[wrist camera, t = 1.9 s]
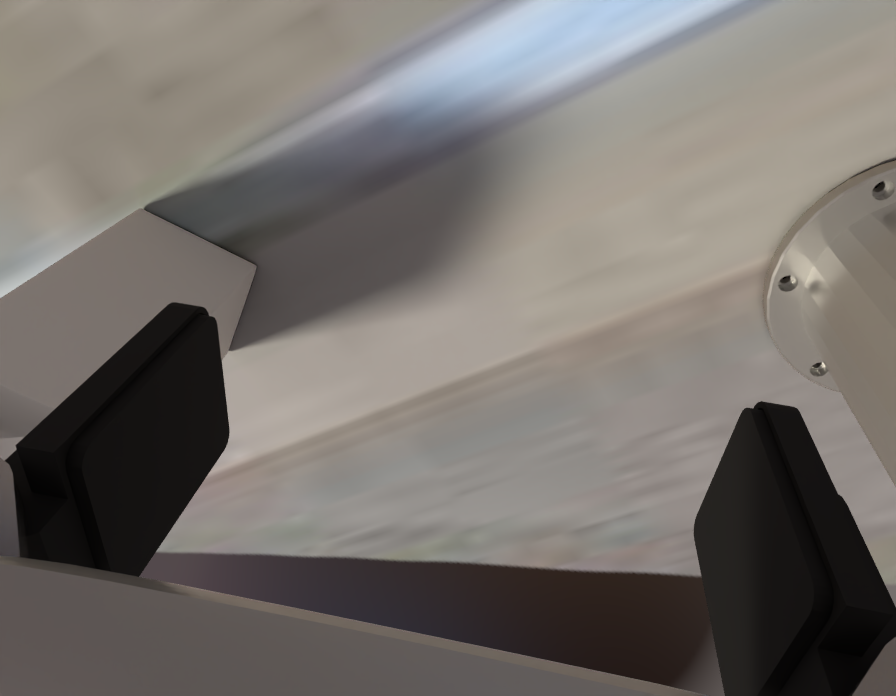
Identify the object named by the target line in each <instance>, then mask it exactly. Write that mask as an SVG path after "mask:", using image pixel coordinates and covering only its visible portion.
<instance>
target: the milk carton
mask: <svg viewBox="0 0 896 696" xmlns="http://www.w3.org/2000/svg"><path fill="white" fill-rule="evenodd" d="M256 268H257V266H256V265H254V264H252V263H250V262H248V261H246V260H244V259H242V258H240V257H238V256H236V255H234V254H232V253H230V252H228V251H226V250H224V249H222V248H220V247H218V246H216V245H214V244H212V243H210V242H208V241H206V240H204V239H202V238H200V237H198V236H196V235H194V234H192V233H190V232H188V231H186V230H184V229H182V228H180V227H178V226H176V225H174V224H172V223H170V222H168V221H166V220H163V219H161V218H159V217H157V216H155V215H153V214H151V213H149V212H147V211H145V210H143V209H138V210H136V211H135V212H133V213H132V214H130V215H129V216H127V217H125V218H124V219H122V220H121V221H119V222H118V223H116V224H115V225H113V226H112V227H110V228H108V229H107V230H105V231H104V232H102V233H101V234H99V235H98V236H96V237H95V238H93V239H91V240H90V241H88V242H87V243H85V244H84V245H82V246H81V247H79V248H78V249H76V250H74V251H73V252H71V253H70V254H68V255H67V256H65V257H64V258H62V259H61V260H59V261H57V262H56V263H54V264H53V265H51V266H50V267H48V268H47V269H45V270H44V271H42V272H40V273H39V274H37V275H36V276H34V277H33V278H31V279H30V280H28V281H27V282H25V283H23V284H22V285H20V286H19V287H17V288H16V289H14V290H13V291H11V292H10V293H8V294H6V295H5V296H3V297H2V298H0V458H1V459H3V460H4V461H5V460H6V459H7V458H8V457H9V456H10V455H11V454H12V453H13V452H14V451H16V450H17V449H16V446H15V445H16V444H17V443H19V442H20V441H21V440H22V439H23V438H24V437H25V436H26V435H27V434H28V433H29V432H30V431H32V430H33V429H34V428H35V427H36V426H37V425H38V424H39V423H40V422H41V421H42V420H43V419H45V418H46V417H47V416H48V415H49V414H50V413H51V412H52V411H53V410H54V409H55V408H56V407H58V406H59V405H60V404H61V403H62V402H63V401H64V400H65V399H66V398H67V397H68V396H69V395H71V394H72V393H73V392H74V391H75V390H76V389H77V388H78V387H79V386H80V385H81V384H82V383H84V382H85V381H86V380H87V379H88V378H89V377H90V376H91V375H92V374H93V373H94V372H95V371H97V370H98V369H99V368H100V367H101V366H102V365H103V364H104V363H105V362H106V361H107V360H108V359H110V358H111V357H112V356H113V355H114V354H115V353H116V352H117V351H118V350H119V349H120V348H121V347H123V346H124V345H125V344H126V343H127V342H128V341H129V340H130V339H131V338H132V337H133V336H134V335H136V334H137V333H138V332H139V331H140V330H141V329H142V328H143V327H144V326H145V325H146V324H147V323H149V322H150V321H151V320H152V319H153V318H154V317H155V316H156V315H157V314H158V313H159V312H160V311H162V310H163V309H164V308H165V307H166V306H167V305H168V304H170V303H171V302H177V303H183V304H189V305H195V306H201V307H204V308H206V310H207V311H208V313H209V316H212V317H214V318H215V319H216V321H217V325H218V334H219V343H220V352H221V360H222V359H223V358H224V357H225V355H226V354H227V352H228V350H229V348H230V345H231V342H232V339H233V336H234V333H235V330H236V327H237V324H238V322H239V319H240V316H241V313H242V310H243V307H244V304H245V301H246V298H247V295H248V292H249V290H250V287H251V284H252V281H253V278H254V275H255V272H256Z"/></svg>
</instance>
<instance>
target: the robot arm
mask: <svg viewBox="0 0 896 696" xmlns="http://www.w3.org/2000/svg"><path fill="white" fill-rule="evenodd" d="M880 182H881V185H880V186H879V187H878V188H876V189H874V187H875V186H876V185H877V184H878V183H880ZM785 276H787V278H785V279H781V278H783V277H785ZM763 309H764V317H765V322H766V325H767V327H768V330H769V332H770V335H771V337H772V340H773V341H774V343H775V345H776V347H777V348H778V350H779V352H780V354H781V355H782V357H783V358H784V359H785V360H786V361H787V362H788V363H789V364H790V365H791V366H792V367H793V369H794V370H796V371H797V372H798V373H800V374H801V375H802V376H804V377H805V378H807V379H808V380H810V381H812V382H814V383H816V384H819V385H821V386H823V387H825V388H828V389H830V390H833V391H837V392H841V393H842V395H843V397H844V399H845V400H846V402H847V404H848V406H849V407H850V409H851V411H852V413H853V414H854V416H855V418H856V419H857V421H858V423H859V425H860V426H861V428H862V430H863V432H864V433H865V435H866V437H867V438H868V440H869V442H870V444H871V445H872V447H873V449H874V451H875V452H876V454H877V456H878V457H879V459H880V461H881V463H882V464H883V466H884V468H885V470H886V471H887V473H888V475H889V477H890V478H891V480H892V482H893V483H894V485H895V487H896V161H892V162H889V163H886V164H882V165H879V166H877V167H874V168H872V169H870V170H868V171H866V172H864V173H861V174H859V175H857V176H855V177H853V178H850V179H849V180H847V181H846V182H844V183H843V184H841V185H840V186H838V187H836V188H835V189H833V190H832V191H830V192H829V193H827V194H826V195H824V196H823V197H822V198H821V199H820V200H818V201H817V202H816V203H815V204H814V205H813V206H812V207H810V208H809V209H808V210H807V211H806V212H805V213H804V214H803V215H802V216H801V217H800V218H799V219H798V220H797V222H796V223H795V224H794V225H793V226H792V228H791V229H790V230H789V231H788V233H787V234H786V235H785V236H784V238H783V240H782V242H781V243H780V245H779V247H778V249H777V250H776V252H775V254H774V256H773V257H772V260H771V263H770V266H769V269H768V272H767V275H766V278H765V283H764V292H763ZM228 439H229V422H228V413H227V404H226V396H225V387H224V378H223V369H222V360H221V352H220V343H219V334H218V325H217V321H216V319H215V318H214V317H212V316H209V313H208V311H207V310H206V308H204V307H201V306H195V305H189V304H183V303H177V302H171V303H170V304H168V305H167V306H166V307H165V308H164V309H163V310H162V311H160V312H159V313H158V314H157V315H156V316H155V317H154V318H153V319H152V320H151V321H150V322H149V323H147V324H146V325H145V326H144V327H143V328H142V329H141V330H140V331H139V332H138V333H137V334H136V335H134V336H133V337H132V338H131V339H130V340H129V341H128V342H127V343H126V344H125V345H124V346H123V347H121V348H120V349H119V350H118V351H117V352H116V353H115V354H114V355H113V356H112V357H111V358H110V359H108V360H107V361H106V362H105V363H104V364H103V365H102V366H101V367H100V368H99V369H98V370H97V371H95V372H94V373H93V374H92V375H91V376H90V377H89V378H88V379H87V380H86V381H85V382H84V383H82V384H81V385H80V386H79V387H78V388H77V389H76V390H75V391H74V392H73V393H72V394H71V395H69V396H68V397H67V398H66V399H65V400H64V401H63V402H62V403H61V404H60V405H59V406H58V407H56V408H55V409H54V410H53V411H52V412H51V413H50V414H49V415H48V416H47V417H46V418H45V419H43V420H42V421H41V422H40V423H39V424H38V425H37V426H36V427H35V428H34V429H33V430H32V431H30V432H29V433H28V434H27V435H26V436H25V437H24V438H23V439H22V440H21V441H20V442H19V443H17V444H16V445H15V446H16V449H17V450H16V451H14V452H13V453H12V454H11V455H10V456H9V457H8V458H7V459H6V460H5V461H4V460H3V459H1V458H0V696H708V695H703V694H699V693H694V692H690V691H686V690H681V689H677V688H673V687H668V686H664V685H659V684H655V683H650V682H646V681H642V680H637V679H632V678H627V677H623V676H618V675H613V674H609V673H604V672H599V671H594V670H589V669H585V668H581V667H576V666H571V665H566V664H562V663H557V662H552V661H547V660H543V659H538V658H533V657H529V656H524V655H519V654H515V653H510V652H505V651H501V650H496V649H491V648H486V647H481V646H476V645H472V644H467V643H462V642H457V641H453V640H447V639H443V638H438V637H433V636H428V635H424V634H419V633H414V632H409V631H404V630H400V629H395V628H390V627H385V626H380V625H376V624H371V623H366V622H361V621H356V620H351V619H346V618H342V617H336V616H332V615H327V614H322V613H317V612H312V611H307V610H303V609H298V608H293V607H288V606H283V605H278V604H273V603H268V602H263V601H258V600H253V599H248V598H243V597H237V596H233V595H228V594H223V593H218V592H213V591H208V590H203V589H198V588H193V587H188V586H183V585H178V584H173V583H168V582H163V581H158V580H153V579H147V578H142V577H139V576H140V574H141V573H142V571H143V570H144V568H145V567H146V566H147V564H148V562H149V561H150V560H151V558H152V557H153V555H154V554H155V552H156V551H157V549H158V548H159V546H160V545H161V543H162V542H163V540H164V539H165V537H166V536H167V534H168V533H169V531H170V530H171V528H172V527H173V525H174V524H175V522H176V521H177V519H178V518H179V516H180V515H181V514H182V512H183V511H184V509H185V508H186V506H187V505H188V503H189V502H190V500H191V499H192V497H193V496H194V494H195V493H196V491H197V490H198V488H199V487H200V485H201V484H202V482H203V481H204V479H205V478H206V476H207V475H208V473H209V472H210V470H211V469H212V467H213V466H214V464H215V463H216V462H217V460H218V459H219V457H220V456H221V454H222V453H223V451H224V449H225V448H226V445H227V443H228ZM694 540H695V545H696V550H697V555H698V560H699V565H700V570H701V575H702V580H703V586H704V590H705V596H706V601H707V606H708V611H709V616H710V621H711V626H712V631H713V636H714V642H715V647H716V652H717V657H718V662H719V667H720V672H721V678H722V683H723V688H724V693H725V696H896V607H895V605H894V603H893V601H892V599H891V597H890V594H889V592H888V590H887V588H886V586H885V584H884V582H883V580H882V577H881V575H880V573H879V571H878V569H877V567H876V565H875V563H874V561H873V558H872V556H871V554H870V552H869V550H868V548H867V546H866V544H865V542H864V539H863V537H862V535H861V533H860V531H859V529H858V527H857V525H856V522H855V520H854V518H853V516H852V514H851V512H850V510H849V508H848V506H847V504H846V502H845V501H844V499H843V498H842V496H840V495H838V493H837V491H836V489H835V487H834V485H833V483H832V480H831V478H830V476H829V474H828V472H827V470H826V468H825V465H824V463H823V461H822V459H821V457H820V455H819V452H818V450H817V448H816V446H815V444H814V442H813V440H812V437H811V435H810V433H809V431H808V429H807V427H806V425H805V422H804V420H803V418H802V416H801V414H800V412H799V410H798V409H797V408H795V407H791V406H785V405H779V404H773V403H767V402H762V401H761V402H758V403H757V404H756V405H755V406H754V408H753V409H752V408H745V409H744V410H743V411H742V413H741V415H740V417H739V419H738V422H737V424H736V426H735V429H734V431H733V433H732V435H731V438H730V440H729V442H728V445H727V447H726V449H725V452H724V454H723V456H722V458H721V461H720V463H719V465H718V468H717V470H716V472H715V475H714V477H713V479H712V481H711V484H710V486H709V488H708V491H707V493H706V495H705V498H704V500H703V502H702V504H701V507H700V509H699V511H698V514H697V516H696V519H695V524H694Z"/></svg>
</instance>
